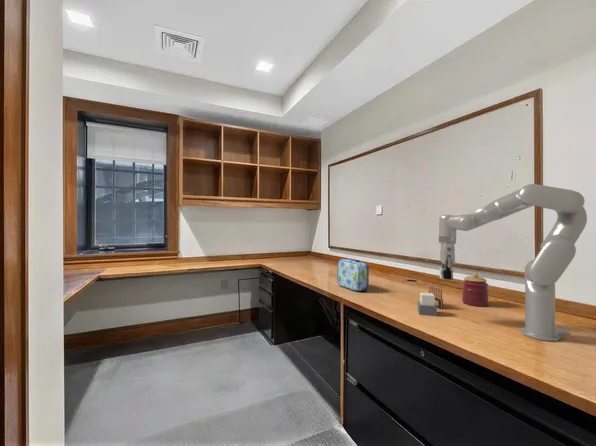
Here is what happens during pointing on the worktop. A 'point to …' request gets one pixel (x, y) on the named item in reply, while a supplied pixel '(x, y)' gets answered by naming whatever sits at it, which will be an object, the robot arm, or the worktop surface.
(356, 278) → the lunch box
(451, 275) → the sage block
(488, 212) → the robot arm
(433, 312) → the tower base
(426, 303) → the tower top
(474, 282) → the canister
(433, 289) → the ammunition clip
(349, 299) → the worktop surface
